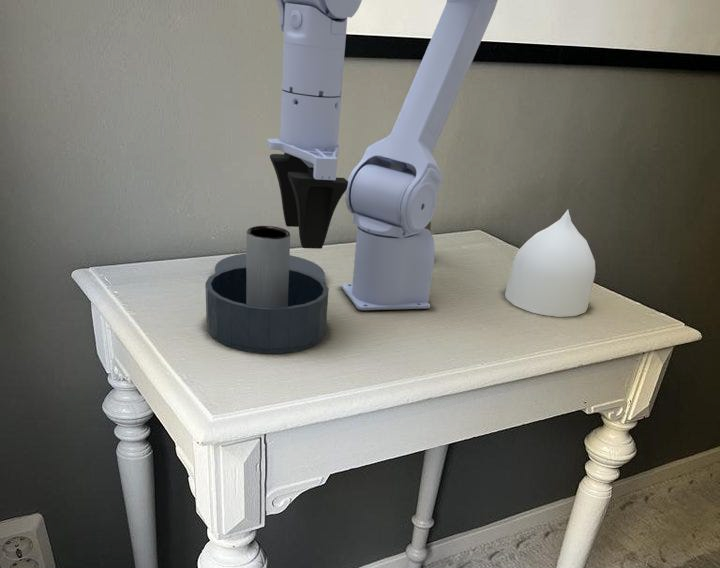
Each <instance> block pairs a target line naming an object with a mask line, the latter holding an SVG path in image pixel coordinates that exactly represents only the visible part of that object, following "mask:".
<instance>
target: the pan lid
mask: <svg viewBox="0 0 720 568" xmlns="http://www.w3.org/2000/svg"><path fill="white" fill-rule="evenodd" d="M246 258H247V252H246V253H240V254H234V255H230V256H227V257H225V258H223V259H220V260H219V261H218V262H217V263H215V267H214V274H215V273H217V272H219V271H222V270H225V269H229V268H232V267H240V266H246ZM289 268H291V269H295V270H300V271H303V272H306V273H309V274H312V275H314V276H316V277H317V278H319V279H321V280H322V281H324V282H325V279H326V277H325V275H326V274H325V271H324V269H323V268H322V267H321V266H320V265H319V264H317V263H315V262H314V261H311V260H308V259H306V258H304V257H300V256H295V255H292V254H290V256H289Z"/></svg>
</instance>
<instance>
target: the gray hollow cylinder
mask: <svg viewBox="0 0 720 568" xmlns="http://www.w3.org/2000/svg"><path fill="white" fill-rule="evenodd" d="M246 253H247V258H246V304H247V305H252V306H263V307H288V284H289V256H290V255H291V254H290V253H291V233H290V231H288V230H287V229H285V228H282V227H279V226H275V225H274V226H273V225H256V226H252V227H250V228H248V229H247V230H246Z"/></svg>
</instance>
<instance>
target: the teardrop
mask: <svg viewBox="0 0 720 568" xmlns="http://www.w3.org/2000/svg"><path fill="white" fill-rule="evenodd" d="M595 276H596V261H595V258H594V255H593V252H592V250H591V248H590V246H589V244H588V241H587V239H586V238H585V237H584V236H583V235H582V234H581V233H580V232H579V231H578V229H577V227H576V226H575V225H574V223H573V222H572V218H571V214H570V210H569V209H567V210H566V211H565V212H564V214H563V215H562V216H561V217H560V219H557V221H555V222H554V223H552V224H551V225H549V226H547V227H545V228H544V229H542V230H540V231H538V232H536V233H535V234H534V235H532V236H531V237H530V238H529V239H527V241H526V242H525V243H523V245H522V246H521V247H520V248H519V249H518V251H517V253H516V255H515V257H514V258H513V261H512V266H511V269H510V273H509V276H508V281H507V285H506V288H505V292H504V295H505V299H506V301H508V302H510V303H511V304H512V305H513V306H514V307H517V308H520V309H522V310H524V311H527V312H530V313H533V314H537V315H540V316H541V315H542V316H548V317H556V318H565V317H567V318H568V317H577V316H579V315H582V314H584V313H586V312H587V310H588V308H589V303H590V299H591V295H592V290H593V286H594V281H595Z"/></svg>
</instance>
